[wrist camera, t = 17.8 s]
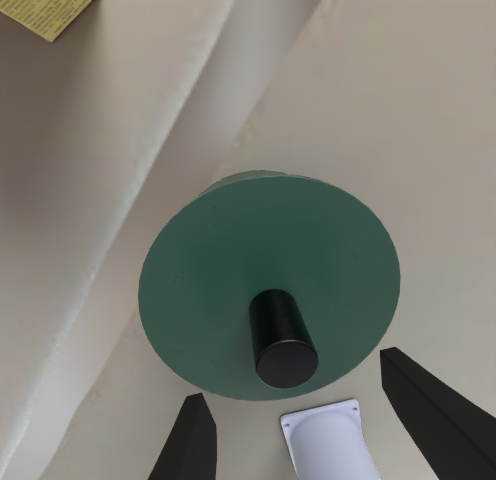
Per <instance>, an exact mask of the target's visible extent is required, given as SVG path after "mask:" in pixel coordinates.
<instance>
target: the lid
mask: <svg viewBox="0 0 496 480" xmlns="http://www.w3.org/2000/svg"><path fill="white" fill-rule="evenodd" d="M399 293H400V268H399V261H398V257H397V253H396V250H395V247H394V244H393V242H392V240H391V238H390V236H389V233H388V232H387V230H386V229H385V227H384V226H383V224H382V223H381V221H380V220H379V219H378V218H377V216H376V215H375V214H374V213H373V212H372V211H371V210H370V209H369V208H368V207H367V206H366V205H364V204H363V203H362V202H361V201H359V200H358V199H357V198H356V197H354V196H353V195H351V194H349V193H347V192H345V191H344V190H342V189H340V188H338V187H336V186H333V185H330V184H328V183H325V182H323V181H320V180H317V179H313V178H308V177H304V176H300V175H288V174H266V175H256V176H251V177H246V178H240V179H237V180H234V181H231V182H228V183H225V184H222V185H220V186H218V187H216V188H214V189H211V190H209V191H207V192H205V193H203V194H202V195H200V196H199V197H197V198H196V199H194V200H193V201H191V202H190V203H188V204H187V205H186V206H185V207H184V208H182V209H181V210H180V211H179V212H178V213H177V214H176V215H175V216H173V218H172V219H171V220H170V221H169V222H168V224H167V225H166V226H165V227H164V228H163V230H162V231H161V232H160V233H159V235H158V236H157V238H156V240H155V241H154V243H153V244H152V246H151V248H150V250H149V252H148V254H147V257H146V259H145V262H144V264H143V268H142V272H141V276H140V280H139V291H138V301H139V312H140V316H141V321H142V325H143V328H144V330H145V333H146V335H147V338H148V340H149V341H150V343H151V345H152V346H153V348H154V350H155V351H156V353H157V354H158V355H159V356H160V358H161V359H162V360H163V361H164V363H165V364H167V365H168V366H169V367H170V368H171V369H172V370H173V371H174V372H175V373H176V374H178V375H179V376H181V377H182V378H183V379H185V380H186V381H188V382H190V383H191V384H193V385H195V386H197V387H199V388H201V389H203V390H206V391H208V392H210V393H214V394H217V395H220V396H223V397H228V398H233V399H238V400H249V401H270V400H281V399H286V398H291V397H296V396H300V395H303V394H307V393H310V392H312V391H315V390H317V389H320V388H322V387H325V386H327V385H329V384H331V383H333V382H335V381H336V380H338V379H339V378H341V377H343V376H344V375H346V374H347V373H349V372H350V371H351V370H352V369H354V368H355V367H356V366H358V365H359V364H360V363H361V362H362V361H363V360H364V359H365V358H366V357H367V356H368V355H369V354H370V353H371V352H372V351H373V349H374V348H375V347H376V346H377V345H378V343H379V342H380V340H381V339H382V337H383V336H384V334H385V333H386V331H387V329H388V327H389V325H390V323H391V321H392V318H393V316H394V313H395V310H396V307H397V303H398V298H399Z"/></svg>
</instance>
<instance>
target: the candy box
mask: <svg viewBox="0 0 496 480" xmlns="http://www.w3.org/2000/svg"><path fill="white" fill-rule="evenodd" d="M91 1H92V0H0V12H1V13H2V14H4V15H6V16H7V17H9V18H11V19H13V20H14V21H16V22H18V23H20V24H21V25H23V26H24V27H26V28H28V29H29V30H31V31H33V32H34V33H36V34H38V35H40V36H41V37H43V38H44V39H46V40H47V41H49V42H53V41H54V40H55V39H56V38H57V37H58V36H59V35H60V33H61V32H62V31H63V30H64V29H65V28H66V27H67V26H68V25H69V24H70V22H71V21H73V20H74V19H75V18H76V17H77V16H78V15H79V14H80V12H81V11H82V10H83V9H84V8H85V7H86V6H87V5H88V4H89V3H90V2H91Z"/></svg>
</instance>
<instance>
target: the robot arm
mask: <svg viewBox="0 0 496 480" xmlns="http://www.w3.org/2000/svg"><path fill="white" fill-rule="evenodd" d="M380 362H381V376H382V388H383V390H384V392H385V393H386V395H387V397H388V399H389V401H390V403H391V405H392V407H393V409H394V410H395V412H396V414H397V416H398V418H399V419H400V421H401V422H402V424H403V425H404V427H405V428H406V430H407V431H408V433H409V434H410V436H411V437H412V439H413V441H414V442H415V444H416V445H417V447H418V448H419V450H420V451H421V453H422V454H423V456H424V457H425V459H426V460H427V462H428V463H429V465H430V466H431V468H432V469H433V471H434V472H435V474H436V475H437V477H438V478H439V480H496V418H495V417H493V416H492V415H490V414H489V413H487V412H486V411H484V410H482V409H481V408H479V407H478V406H476V405H475V404H473V403H472V402H471V401H469V400H468V399H466V398H465V397H463V396H462V395H460V394H459V393H458V392H456V391H455V390H453V389H452V388H450V387H449V386H448V385H446V384H445V383H443V382H442V381H441V380H439V379H438V378H436V377H435V376H434V375H432V374H431V373H430V372H428V371H427V370H426V369H424V368H423V367H422V366H420V365H419V364H418V363H416V362H415V361H414V360H412V359H411V358H410V357H408V356H407V355H406V354H404V353H403V352H402V351H401V350H399V349H398V348H396V347H392V348H388V349H384V350H380ZM280 421H281V425H282V428H283V432H284V435H285V438H286V442H287V445H288V448H289V452H290V455H291V458H292V462H293V465H294V469H295V472H296V473H297V476H298V480H382V479H381V477H380V474H379V472H378V470H377V468H376V466H375V463H374V461H373V459H372V457H371V455H370V452H369V450H368V448H367V446H366V444H365V441H364V439H363V436H362V427H361V419H360V411H359V404H358V402H357V400H355V399H351V400H347V401H343V402H339V403H334V404H330V405H326V406H322V407H317V408H313V409H309V410H304V411H300V412H296V413H292V414H287V415H284V416H282V417H281V418H280ZM216 464H217V432H216V424H215V422H214V419H213V417H212V415H211V413H210V410H209V408H208V406H207V404H206V401H205V399H204V397H203V394H202V393H198V394H194V395H190V396H187V397H186V398H185V401H184V403H183V405H182V408H181V410H180V412H179V414H178V417H177V419H176V421H175V424H174V426H173V428H172V430H171V432H170V435H169V437H168V439H167V441H166V443H165V445H164V447H163V449H162V452H161V454H160V456H159V458H158V460H157V462H156V464H155V466H154V468H153V470H152V472H151V474H150V476H149V478H148V480H215V478H216Z"/></svg>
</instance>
